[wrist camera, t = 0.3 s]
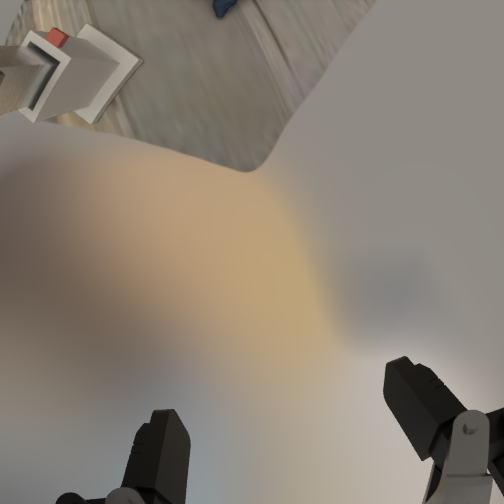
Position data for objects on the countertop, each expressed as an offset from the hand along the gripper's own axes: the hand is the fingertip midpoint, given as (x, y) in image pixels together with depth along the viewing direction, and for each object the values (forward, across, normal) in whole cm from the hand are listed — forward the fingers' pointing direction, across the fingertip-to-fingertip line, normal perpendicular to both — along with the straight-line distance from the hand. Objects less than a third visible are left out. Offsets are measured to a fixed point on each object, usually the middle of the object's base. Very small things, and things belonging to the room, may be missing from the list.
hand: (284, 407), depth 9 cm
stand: (+25, +15, -27) cm, 39 cm away
